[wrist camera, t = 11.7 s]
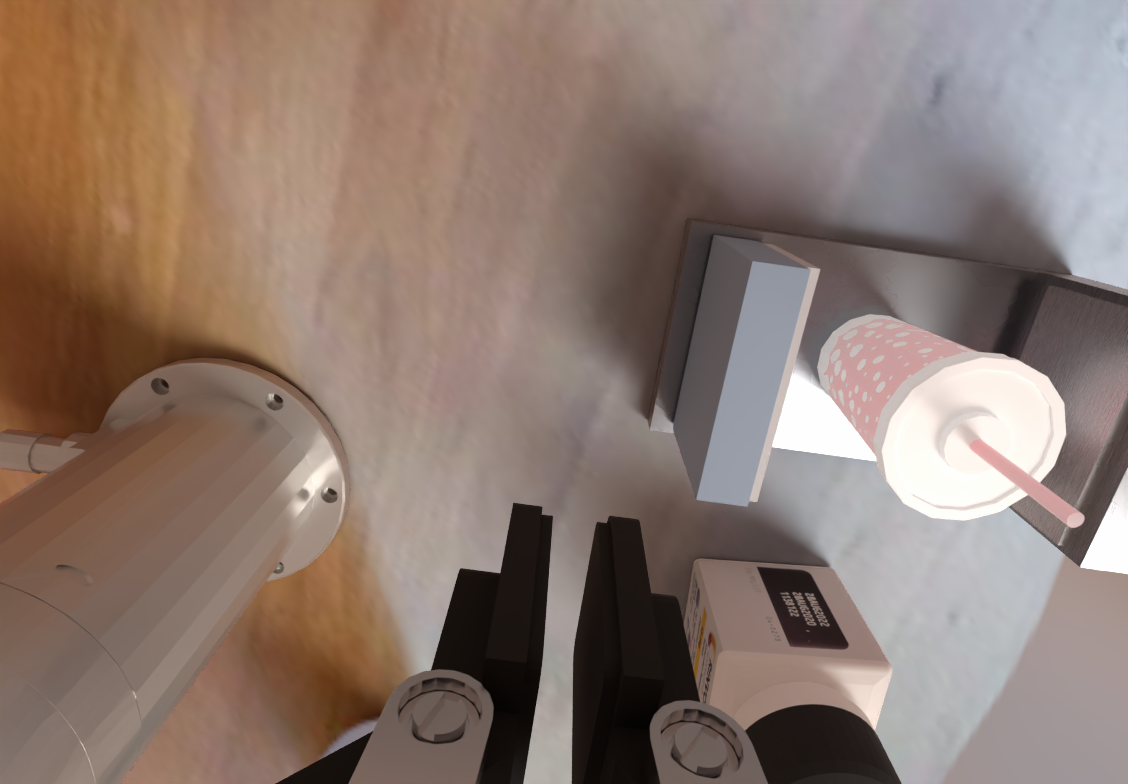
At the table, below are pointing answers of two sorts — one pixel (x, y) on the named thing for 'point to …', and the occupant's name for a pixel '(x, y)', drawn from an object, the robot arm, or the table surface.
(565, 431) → the table surface
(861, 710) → the container
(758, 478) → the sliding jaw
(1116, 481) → the vise base
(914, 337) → the beverage cup
